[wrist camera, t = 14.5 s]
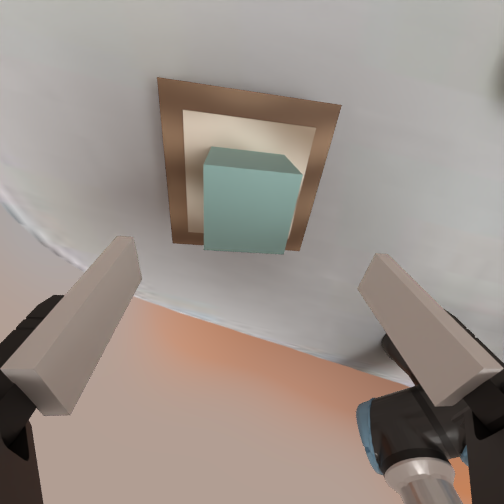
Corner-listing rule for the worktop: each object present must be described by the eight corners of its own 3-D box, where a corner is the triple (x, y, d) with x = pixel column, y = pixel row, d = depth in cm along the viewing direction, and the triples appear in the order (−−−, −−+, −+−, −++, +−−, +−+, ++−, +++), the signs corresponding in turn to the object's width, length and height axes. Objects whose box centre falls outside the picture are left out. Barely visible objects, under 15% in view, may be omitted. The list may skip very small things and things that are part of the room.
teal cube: (272, 219, 26) (283, 254, 20) (210, 214, 25) (203, 249, 19) (284, 154, 22) (302, 174, 16) (211, 146, 21) (203, 164, 15)
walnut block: (287, 222, 36) (300, 253, 29) (184, 215, 33) (171, 245, 26) (314, 103, 27) (344, 105, 20) (177, 83, 25) (155, 76, 18)
